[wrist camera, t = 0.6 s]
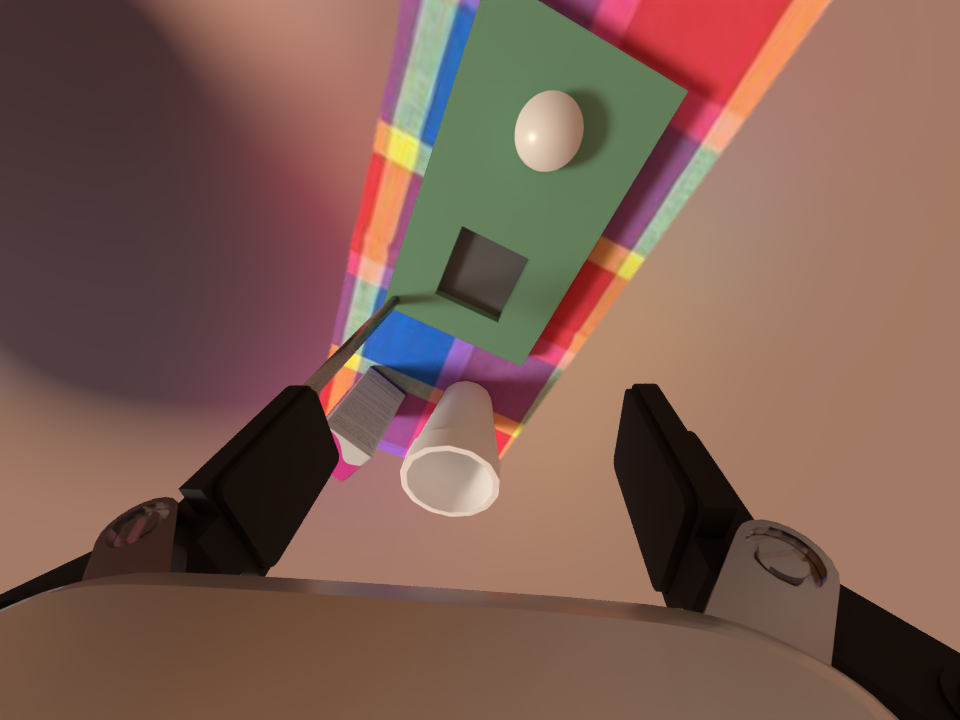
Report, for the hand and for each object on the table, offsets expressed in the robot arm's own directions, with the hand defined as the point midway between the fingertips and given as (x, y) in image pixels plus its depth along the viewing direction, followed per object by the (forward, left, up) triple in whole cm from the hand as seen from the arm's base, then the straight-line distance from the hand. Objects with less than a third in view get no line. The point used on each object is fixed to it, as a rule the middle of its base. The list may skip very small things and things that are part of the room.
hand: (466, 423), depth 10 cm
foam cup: (+19, +4, -27) cm, 33 cm away
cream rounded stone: (-10, -1, -24) cm, 26 cm away
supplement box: (+23, -7, -27) cm, 36 cm away
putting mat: (-2, -1, -27) cm, 27 cm away
